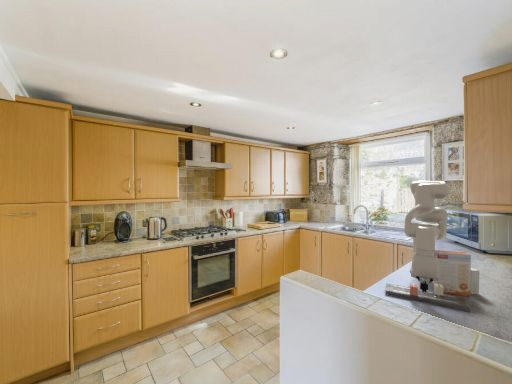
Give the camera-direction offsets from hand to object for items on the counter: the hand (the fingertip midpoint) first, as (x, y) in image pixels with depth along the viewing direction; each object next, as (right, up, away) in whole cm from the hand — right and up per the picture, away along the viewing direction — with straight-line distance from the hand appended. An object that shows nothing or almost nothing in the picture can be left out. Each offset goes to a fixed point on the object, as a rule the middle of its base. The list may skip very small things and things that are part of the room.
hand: (423, 290), depth 113 cm
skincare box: (+32, -5, +11) cm, 34 cm away
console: (+1, -4, +2) cm, 5 cm away
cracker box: (+20, -5, +9) cm, 23 cm away
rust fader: (-4, -2, +1) cm, 5 cm away
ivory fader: (+9, -2, +2) cm, 9 cm away
